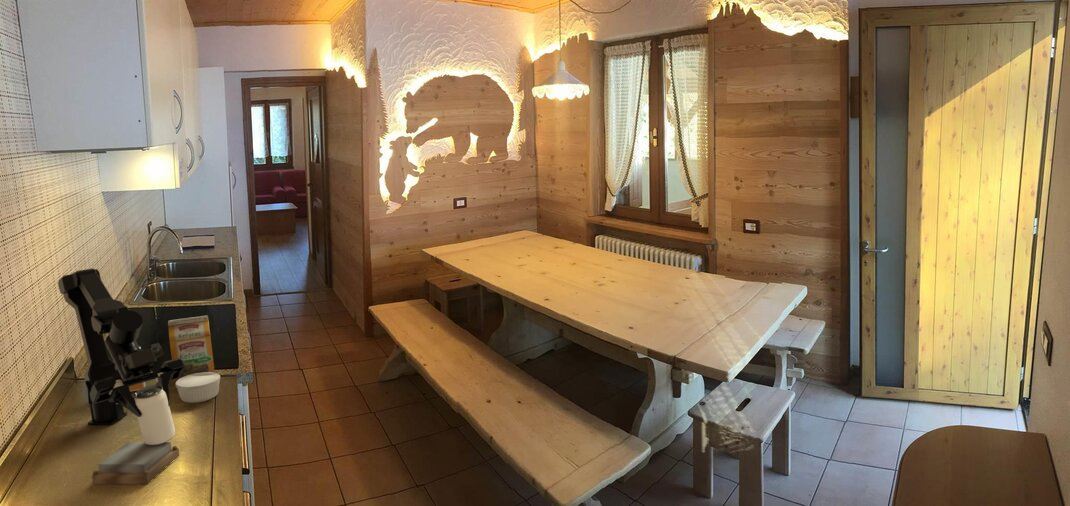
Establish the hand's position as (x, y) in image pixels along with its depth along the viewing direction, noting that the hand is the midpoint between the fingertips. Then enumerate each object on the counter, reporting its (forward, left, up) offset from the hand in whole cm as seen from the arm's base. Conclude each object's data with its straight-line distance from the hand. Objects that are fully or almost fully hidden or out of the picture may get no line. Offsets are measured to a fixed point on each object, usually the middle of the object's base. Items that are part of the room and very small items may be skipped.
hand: (154, 411), depth 150 cm
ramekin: (-11, +37, -13) cm, 40 cm away
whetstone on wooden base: (-3, -3, -12) cm, 13 cm away
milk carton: (-19, +50, -13) cm, 55 cm away
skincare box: (-33, +42, -13) cm, 55 cm away
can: (-1, +2, -8) cm, 8 cm away
